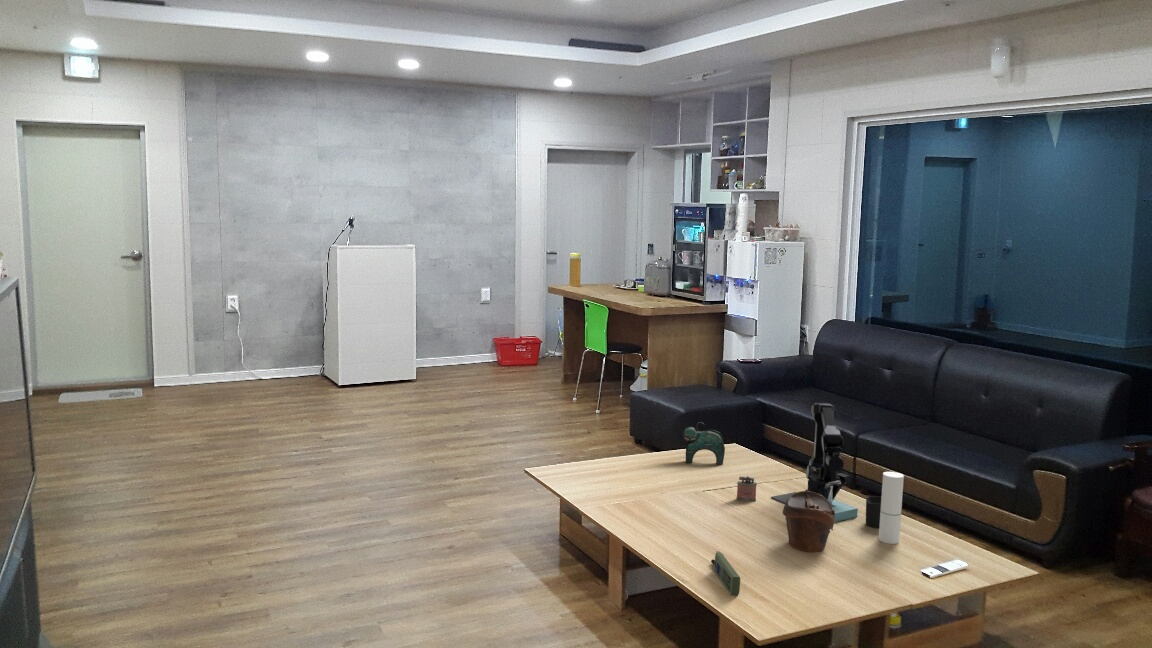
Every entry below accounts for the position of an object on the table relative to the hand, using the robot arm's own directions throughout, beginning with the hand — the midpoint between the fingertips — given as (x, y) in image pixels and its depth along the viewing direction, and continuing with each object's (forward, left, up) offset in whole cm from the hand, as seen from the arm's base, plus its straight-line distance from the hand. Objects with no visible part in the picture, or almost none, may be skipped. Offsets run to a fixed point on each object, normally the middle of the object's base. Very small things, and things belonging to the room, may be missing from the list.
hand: (828, 501), depth 348 cm
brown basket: (+32, +21, -5) cm, 39 cm away
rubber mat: (0, -18, -5) cm, 19 cm away
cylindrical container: (+1, +31, -5) cm, 31 cm away
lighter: (+18, -28, -5) cm, 34 cm away
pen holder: (-8, +18, -5) cm, 20 cm away
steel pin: (0, 0, -3) cm, 3 cm away
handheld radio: (+78, +30, -6) cm, 84 cm away
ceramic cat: (0, -79, -5) cm, 79 cm away
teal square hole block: (0, 0, -5) cm, 5 cm away
